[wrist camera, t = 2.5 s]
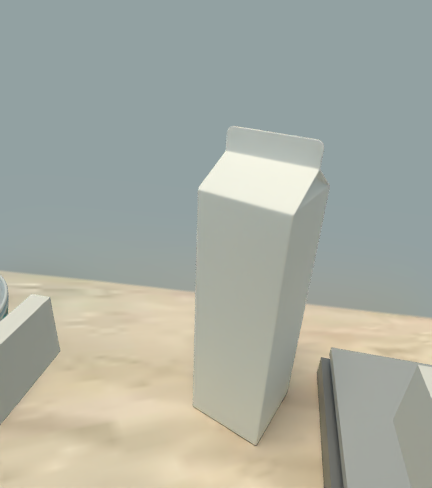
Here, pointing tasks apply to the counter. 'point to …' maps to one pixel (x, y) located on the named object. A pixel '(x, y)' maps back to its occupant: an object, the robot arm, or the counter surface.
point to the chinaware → (3, 298)
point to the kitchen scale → (362, 419)
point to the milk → (254, 273)
